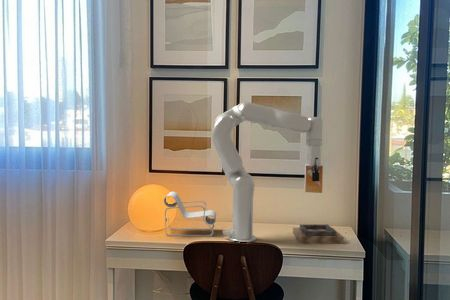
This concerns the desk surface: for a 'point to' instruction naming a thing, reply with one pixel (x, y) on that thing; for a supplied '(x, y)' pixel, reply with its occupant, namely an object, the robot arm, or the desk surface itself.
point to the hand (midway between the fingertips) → (313, 179)
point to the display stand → (317, 234)
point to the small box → (313, 185)
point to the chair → (190, 213)
